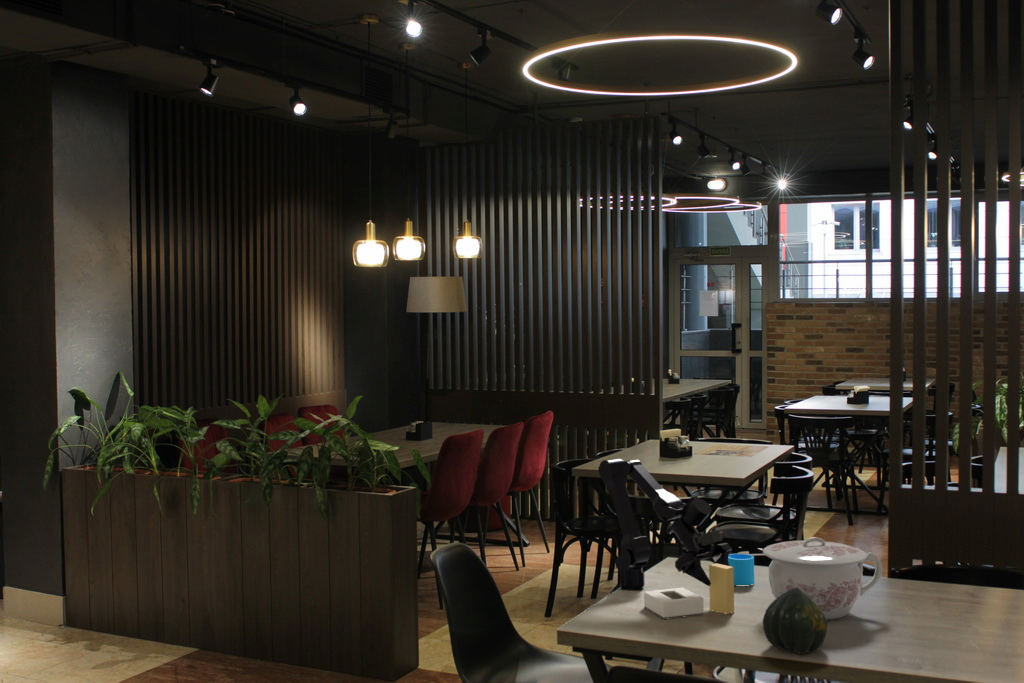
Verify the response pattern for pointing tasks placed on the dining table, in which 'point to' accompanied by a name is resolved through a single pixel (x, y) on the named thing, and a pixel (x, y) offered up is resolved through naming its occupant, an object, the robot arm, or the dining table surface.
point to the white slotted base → (673, 603)
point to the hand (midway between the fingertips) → (720, 582)
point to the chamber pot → (821, 573)
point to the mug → (742, 568)
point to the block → (721, 588)
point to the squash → (795, 622)
